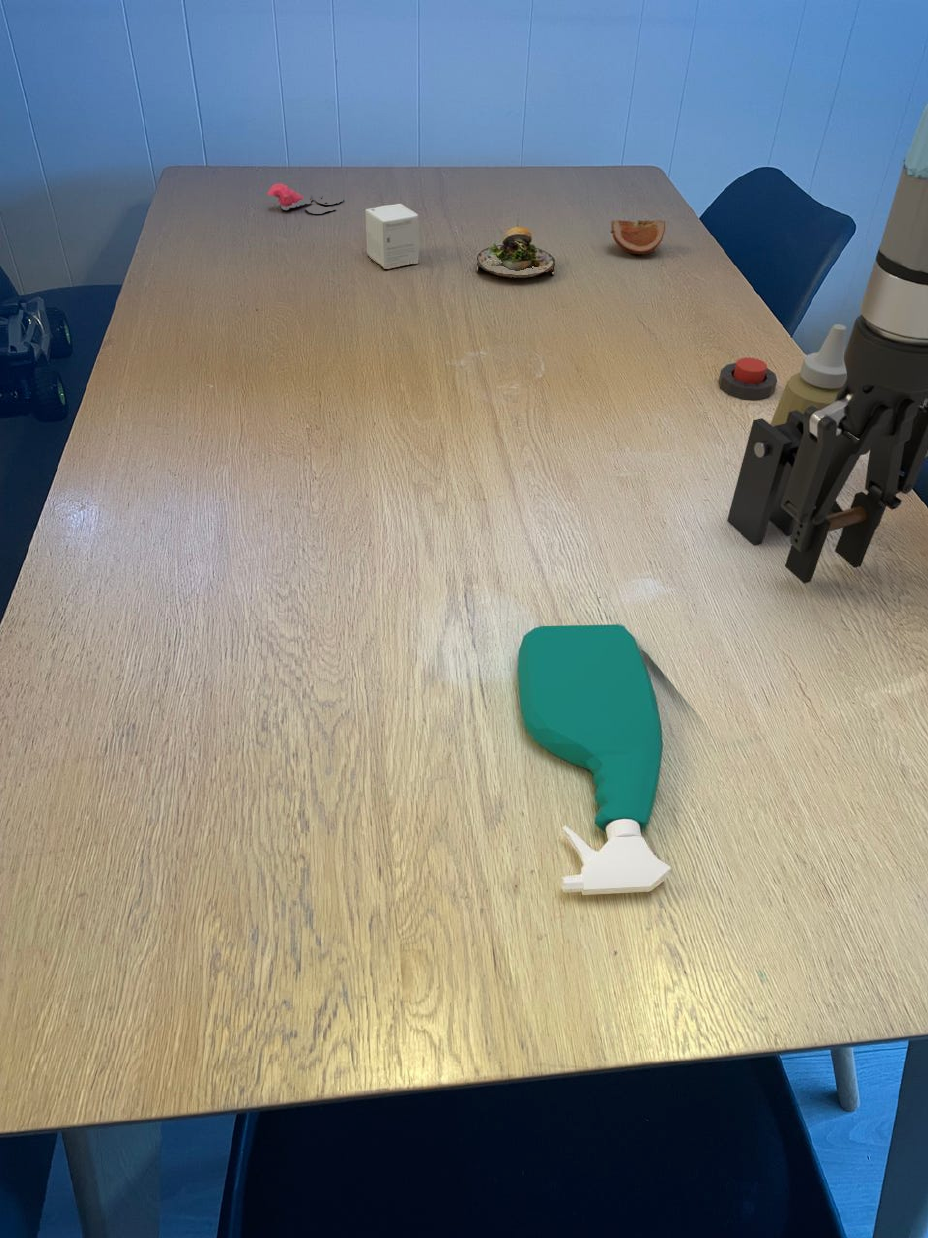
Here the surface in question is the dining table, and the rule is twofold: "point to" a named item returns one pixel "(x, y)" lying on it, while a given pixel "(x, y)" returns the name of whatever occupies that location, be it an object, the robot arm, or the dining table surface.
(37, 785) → the dining table surface
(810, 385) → the squeeze bottle
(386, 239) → the product box
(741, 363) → the button
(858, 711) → the dining table surface
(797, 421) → the bracket
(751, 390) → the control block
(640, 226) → the fruit slice
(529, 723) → the spray bottle
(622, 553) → the dining table surface
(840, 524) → the lever
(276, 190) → the pink fuzzy curved piece
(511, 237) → the burger
